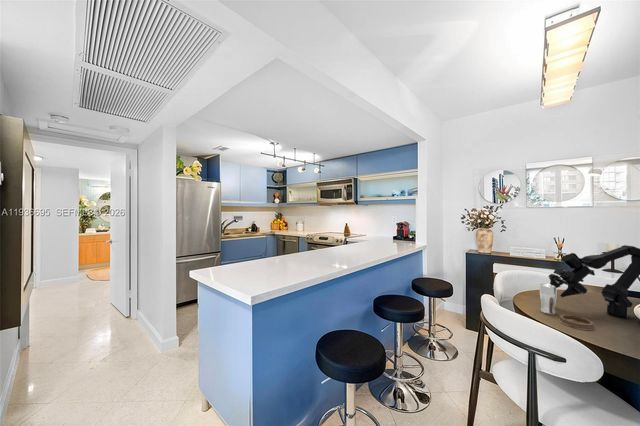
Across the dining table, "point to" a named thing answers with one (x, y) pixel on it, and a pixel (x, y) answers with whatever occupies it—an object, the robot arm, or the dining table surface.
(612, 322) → the dining table surface
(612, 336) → the dining table surface
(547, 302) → the beer glass
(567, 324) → the faceted bowl
